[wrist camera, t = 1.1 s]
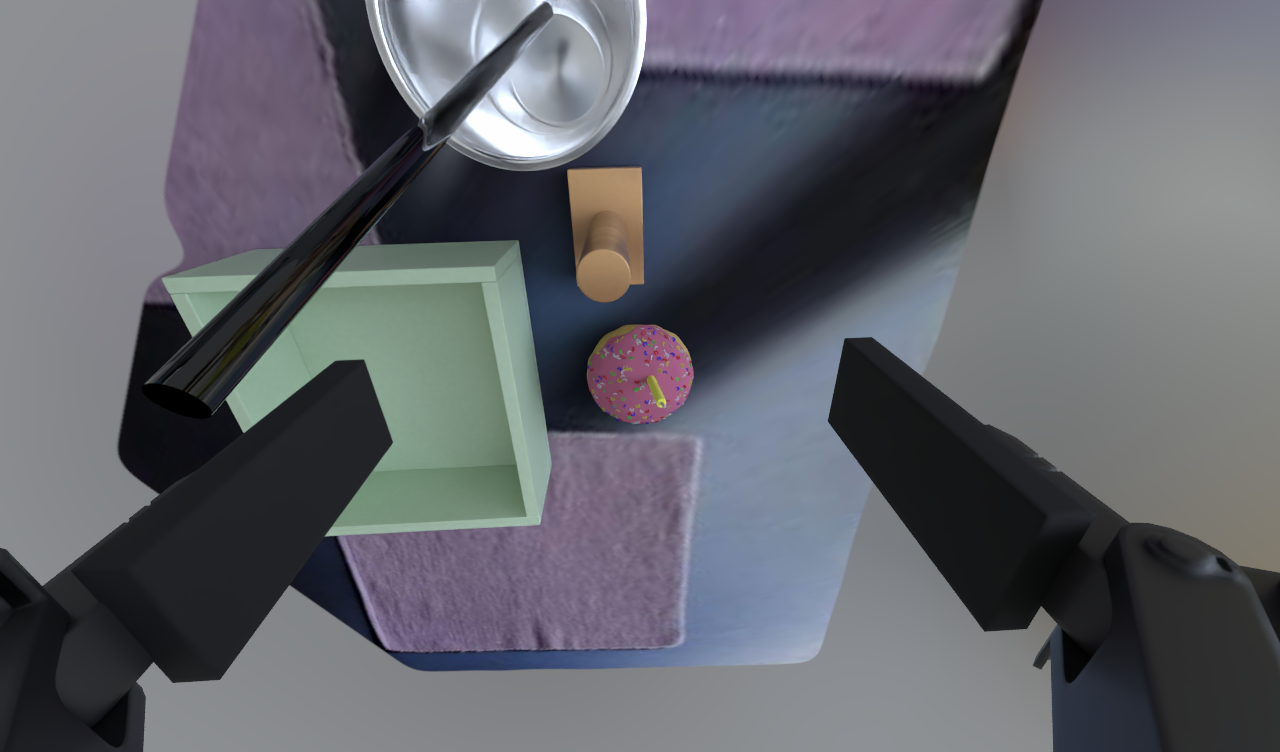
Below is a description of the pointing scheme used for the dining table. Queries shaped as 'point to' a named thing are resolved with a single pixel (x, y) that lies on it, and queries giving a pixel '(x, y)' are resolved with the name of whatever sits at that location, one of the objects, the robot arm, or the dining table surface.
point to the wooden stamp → (607, 229)
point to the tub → (411, 376)
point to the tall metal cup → (433, 147)
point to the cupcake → (640, 373)
